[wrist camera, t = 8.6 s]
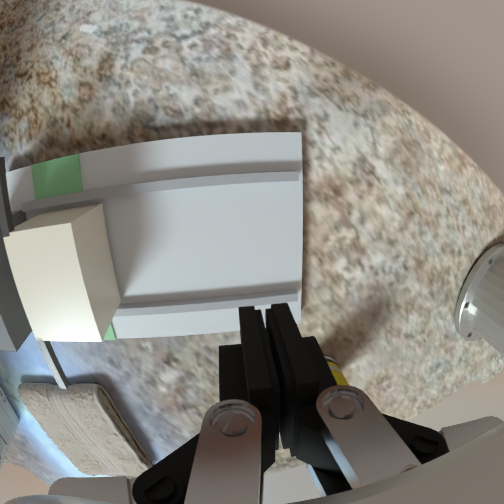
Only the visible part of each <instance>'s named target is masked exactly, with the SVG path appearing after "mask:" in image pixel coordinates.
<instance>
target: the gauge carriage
mask: <svg viewBox="0 0 504 504" xmlns="http://www.w3.org/2000/svg"><path fill="white" fill-rule="evenodd" d="M0 225H1V230H2V235H3V239H4V244H5V248H6V252H7V256H8V260H9V263H10V267H11V270H12V274H13V277H14V280H15V284H16V287H17V290H18V293H19V296H20V299H21V302H22V305H23V307H24V310H25V313H26V315H27V318H28V321H29V323H30V326H31V328H32V331H33V333H34V335H35V338H36V340H37V342H38V345H39V347H40V349H41V351H42V353H43V356H44V358H45V360H46V362H47V364H48V366H49V368H50V370H51V372H52V374H53V376H54V378H55V380H56V382H57V384H58V385H59V387H60V389H67V388H68V385H69V382H68V380H67V378H66V376H65V374H64V372H63V370H62V368H61V366H60V364H59V362H58V359H57V357H56V355H55V353H54V351H53V348H52V346H51V344H50V341H74V342H102V341H103V338H104V336H105V334H106V332H107V330H108V328H109V325H110V323H111V321H112V319H113V317H114V315H115V313H116V311H117V309H118V306H119V304H120V302H121V297H120V293H119V289H118V285H117V280H116V276H115V271H114V267H113V262H112V257H111V252H110V247H109V241H108V236H107V230H106V224H105V218H104V211H103V204H95V205H88V206H82V207H75V208H69V209H63V210H57V211H51V212H46V213H41V214H39V215H37V216H35V217H33V218H31V219H29V220H27V221H25V222H23V223H22V224H20V225H18V226H16V227H14V224H13V219H12V213H11V208H10V201H9V195H8V188H7V179H6V170H5V159H4V157H0Z"/></svg>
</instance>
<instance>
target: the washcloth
mask: <svg viewBox="0 0 504 504" xmlns="http://www.w3.org/2000/svg"><path fill="white" fill-rule="evenodd" d="M18 393H19V396H20V398H21V400H22V401H23V403H24V404H25V406H26V407H27V409H28V410H29V411H30V413H31V414H32V415H33V416H34V418H35V419H36V420H37V422H38V423H39V424H40V426H41V427H42V429H43V430H44V432H46V434H47V435H48V437H49V438H51V439H52V441H53V442H54V444H55V445H56V446H58V449H60V450H61V451H62V452H63V453H64V454H65V455H66V457H67V458H68V459H69V460H70V461H71V462H72V463H73V464H74V465H75V467H77V468H78V470H79V471H81V472H83V473H84V474H88V475H93V476H95V475H109V476H126V477H127V478H128V479H130V478H137V477H138V476H139V475H141V474H142V473H143V472H144V471H146V470H148V469H149V468H151V467H152V466H153V465H151V461H150V460H149V458H148V455H147V453H146V452H145V450H144V449H143V448H142V446H141V445H140V443H139V442H138V440H137V439H136V437H135V436H134V434H133V433H132V431H131V430H130V428H129V427H128V425H127V424H126V422H125V421H124V419H123V418H122V416H121V415H120V413H119V411H118V410H117V408H116V406H115V404H114V403H113V401H112V399H111V398H110V396H109V394H108V392H107V391H106V390H105V388H104V387H103V386H101V385H98V384H93V383H90V384H89V383H82V384H72V385H68V388H67V389H60V387H59V385H53V384H51V383H35V382H34V383H30V382H28V383H25V382H24V383H21V384H19V386H18Z"/></svg>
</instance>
